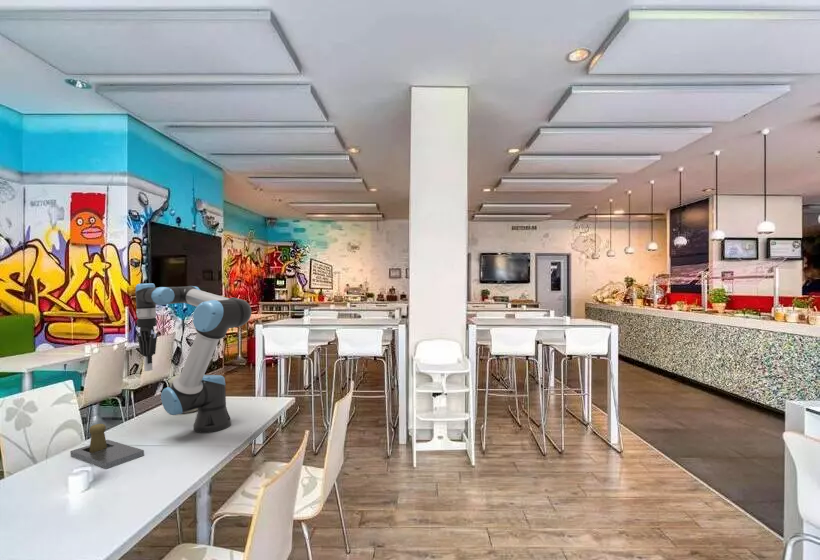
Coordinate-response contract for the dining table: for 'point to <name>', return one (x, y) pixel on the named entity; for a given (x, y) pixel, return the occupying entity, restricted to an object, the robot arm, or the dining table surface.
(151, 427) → the dining table surface
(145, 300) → the robot arm
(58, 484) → the dining table surface
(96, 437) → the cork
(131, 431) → the dining table surface
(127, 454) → the jig
